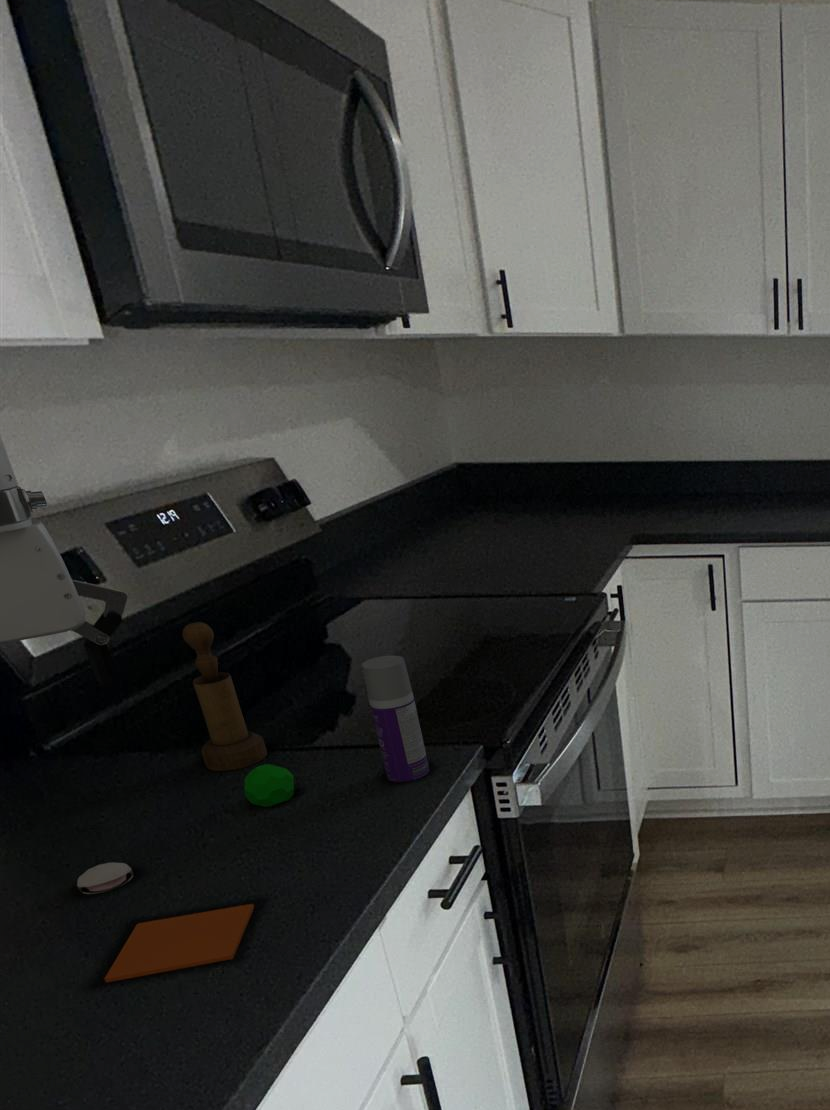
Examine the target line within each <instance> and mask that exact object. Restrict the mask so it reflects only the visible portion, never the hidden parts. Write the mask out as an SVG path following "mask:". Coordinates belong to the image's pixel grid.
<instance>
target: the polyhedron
mask: <svg viewBox="0 0 830 1110" xmlns="http://www.w3.org/2000/svg"><path fill="white" fill-rule="evenodd" d="M244 795H245V798H246V799H247V800H248V801H249V802H250V803H251V804H252V805H256V806H259V807H263V808H267V807H273V806H276V805H279V804H282V803H285V802H287V801H289V800H291V798H293V796H294V795H295V779H294V775H293V773H291V771H289V770H288V768H285V767H281V766H277V765H274V764H270V763H265V764H262V765H259V766H256V767H255V768H253V769H252V770H250V771H249V773H248V774H247V775H246V776H245V777H244Z"/></svg>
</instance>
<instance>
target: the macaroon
mask: <svg viewBox="0 0 830 1110" xmlns="http://www.w3.org/2000/svg"><path fill="white" fill-rule="evenodd" d="M127 874H129V875H131V876H130V878H128V880H127ZM133 877H134V871H133V870H132V867H131V866H129V865H128V864H127V863H125V862H115V861H114V862H106V863H101V864H98V865H95V866H93V867H91V868H88V869H87V870H85V872H84V873H82V874H81V875H79V877H78V878H77V883H76V886H77V889H78V890H79V891H80V893H82V894H86V895H95V894H101V893H104V892H108V891H112V890H114V889H116V888H119V887H121V886H123V885H125V884H127V883H128V882H130V881H131V880H132V878H133ZM83 888H85V889H87V890H88V891H89V892H85V891H83Z"/></svg>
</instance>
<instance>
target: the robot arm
mask: <svg viewBox="0 0 830 1110" xmlns="http://www.w3.org/2000/svg"><path fill="white" fill-rule="evenodd" d="M47 506H48V503H47V500H46V497H45V494H44V493H43V491H42V490H39V491H31V490H26V489H24V488H22V487H21V486H19V483H18V479H17V477H16V476H15V472H14V469H13V466H12V464H11V461H10V458H9V456H8V453H7V450H6V447H5V445H4V442H3V439H2V436H1V435H0V645H4V644H9V643H14V642H19V641H24V640H31V639H36V638H40V637H47V636H53V635H57V634H62V633H63V634H64V633H66V632H70V631H72V632H74V633H76V634H78V635H80V636H81V637H84V639H85V640H84V643H83V647H84V650H85V653H86V656H87V658H88V661H89V664H90V667H91V669H92V672H93V675H94V678H95V680H96V681H97V682H98V683H99V684H100V685H102V686H103V687H111V686H113V681H112V679H111V676H110V675H115V674H117V670H116V666H115V664H114V661H113V658H112V655H111V652H110V650H109V648H108V643H110V639H111V637H112V636H113V634H114V633H115V631H116V630H117V629H118V628H119V626H120V625H121V623H122V622H123V614H124V612H125V609H126V605H127V601H128V595H127V594H126V592H124V591H123V590H120V589H116V588H112V587H107V586H104V585H99V584H94V583H90V582H85V581H81V580H76V579H72V576H71V574H70V572H69V570H68V567H67V566H66V564H65V560H64V559H63V557H62V555H61V554H60V552H59V550H58V549H57V547H56V544H55V542H54V540H53V539H52V536H51V535H50V533H49V532H48V530H47V528H46V527H45V525H44V524H43V522H42V521H41V520H40V519H38V518H32V515H31V513H33V510H37V509H38V508H41V507H47ZM80 597H84V598H88V599H93V600H98V601H102V602H104V603H105V605H104V610H103V612H102V613H101V615H100V616H99V617H98V618H97V620H96V621H95V622H94V624H92V623H91V622H89V621H87V620H86V619H87V618H86V613H85V608H84V606H83V603H82V601H81V598H80Z"/></svg>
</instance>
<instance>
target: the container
mask: <svg viewBox="0 0 830 1110" xmlns="http://www.w3.org/2000/svg"><path fill="white" fill-rule="evenodd" d="M361 670H362V674H363V680H364V684H365V689H366V693H367V694H366V695H367V698H368V702H369V708H370V711H371V715H372V720H373V724H374V729H375V733H376V736H377V740H378V745H379V749H380V754H381V757H382V762H383V765H384V770H385V774H386V779H388V780H389V781H391V782H397V783H403V782H410V781H414V780H418V779H420V778H423V777H425V776H426V775H427V774H428V773H429V771H430V766H429V761H428V756H427V753H426V747H425V743H424V738H423V735H422V734H423V733H422V729H421V725H420V720H419V714H418V711H417V706H416V702H415V701H416V700H415V698H414V693H413V689H412V685H411V682H410V677H409V674H408V669H407V665H406V662H405V658H404V657H403V656H400V655H382V656H376V657H372V658H369V659H367V660H365V661H363V662H362V663H361Z"/></svg>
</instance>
